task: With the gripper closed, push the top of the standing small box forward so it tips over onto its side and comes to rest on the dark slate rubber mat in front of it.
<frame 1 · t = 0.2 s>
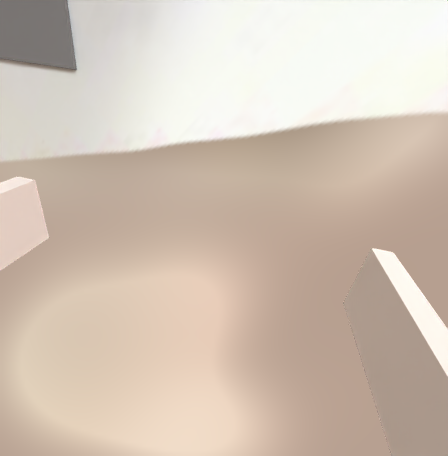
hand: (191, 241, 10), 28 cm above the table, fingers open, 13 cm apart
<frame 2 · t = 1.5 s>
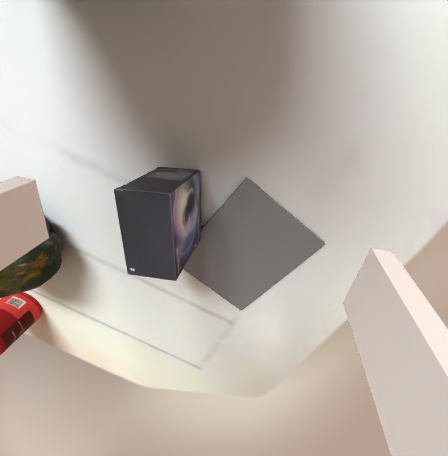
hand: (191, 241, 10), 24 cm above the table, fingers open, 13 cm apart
canned food: (26, 303, 54), on the table
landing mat: (243, 251, 39), on the table
small box: (181, 204, 37), on the table, touching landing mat
squash: (34, 230, 44), on the table
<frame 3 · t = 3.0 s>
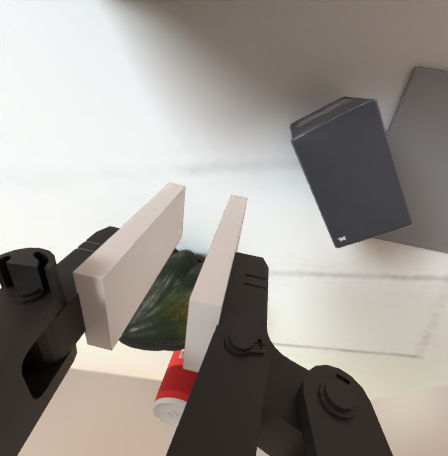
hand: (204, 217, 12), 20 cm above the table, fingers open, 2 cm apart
canned food: (193, 353, 51), on the table
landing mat: (439, 173, 28), on the table
small box: (333, 154, 29), on the table, touching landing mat
squash: (179, 271, 42), on the table
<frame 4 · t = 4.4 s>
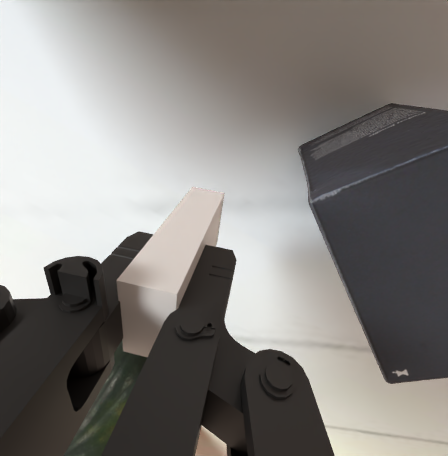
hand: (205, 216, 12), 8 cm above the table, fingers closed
small box: (366, 192, 19), on the table, touching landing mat
squash: (148, 332, 31), on the table
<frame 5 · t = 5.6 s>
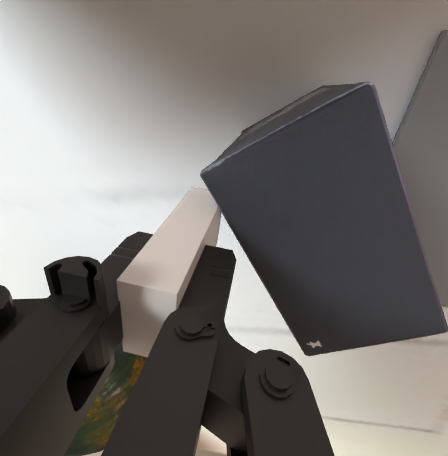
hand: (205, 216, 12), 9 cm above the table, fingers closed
small box: (311, 176, 19), on the table, touching gripper, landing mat
squash: (119, 322, 32), on the table
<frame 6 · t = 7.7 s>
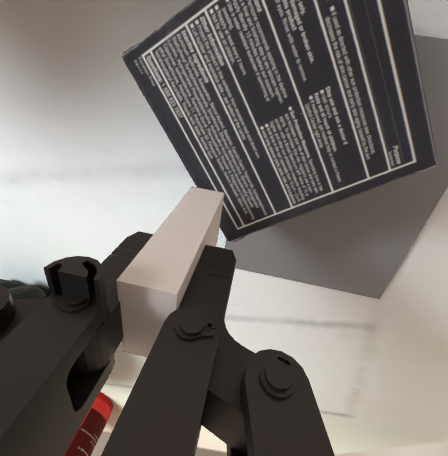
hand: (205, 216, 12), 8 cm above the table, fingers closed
canned food: (92, 398, 42), on the table
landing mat: (332, 185, 19), on the table
small box: (194, 151, 16), point 4 cm above the table, touching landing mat
squash: (43, 306, 32), on the table
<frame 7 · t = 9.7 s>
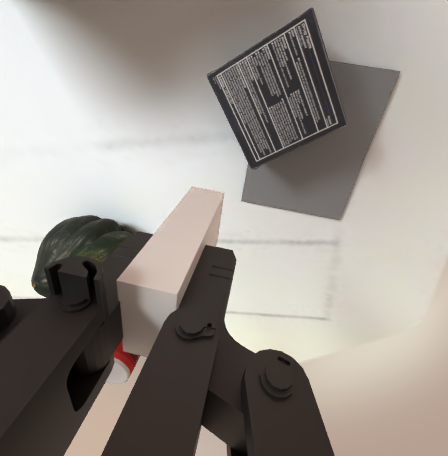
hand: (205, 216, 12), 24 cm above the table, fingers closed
canned food: (136, 322, 56), on the table
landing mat: (307, 145, 33), on the table
small box: (232, 123, 30), point 4 cm above the table, touching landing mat
squash: (111, 241, 46), on the table
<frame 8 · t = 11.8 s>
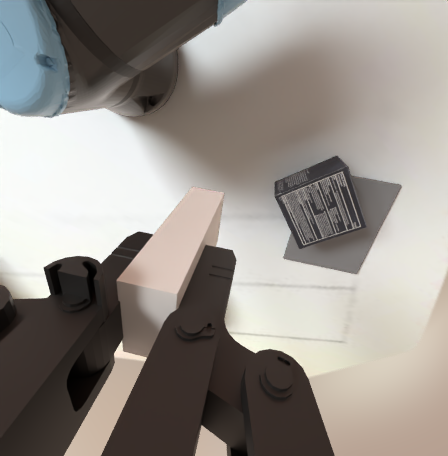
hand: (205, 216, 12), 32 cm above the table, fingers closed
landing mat: (335, 224, 46), on the table
small box: (285, 215, 43), point 4 cm above the table, touching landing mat
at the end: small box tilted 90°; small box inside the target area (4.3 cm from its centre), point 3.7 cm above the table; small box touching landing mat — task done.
